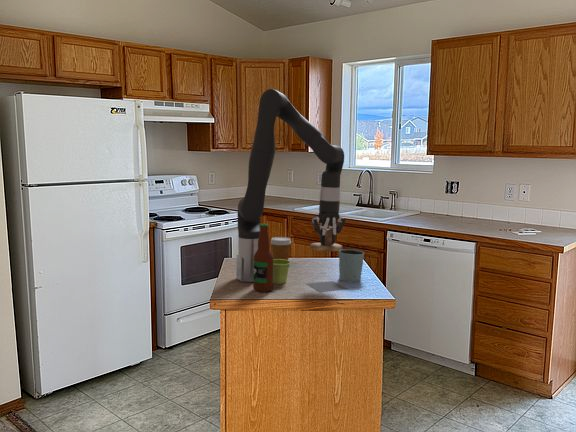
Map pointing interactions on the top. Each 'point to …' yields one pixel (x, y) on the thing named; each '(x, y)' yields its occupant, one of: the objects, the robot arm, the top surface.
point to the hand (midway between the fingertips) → (327, 244)
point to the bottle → (263, 263)
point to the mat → (326, 286)
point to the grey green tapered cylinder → (350, 265)
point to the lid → (327, 243)
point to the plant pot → (280, 270)
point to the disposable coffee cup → (280, 247)
